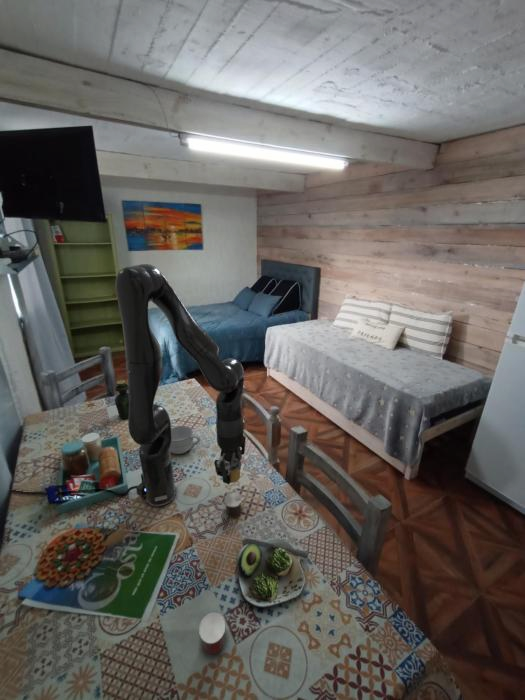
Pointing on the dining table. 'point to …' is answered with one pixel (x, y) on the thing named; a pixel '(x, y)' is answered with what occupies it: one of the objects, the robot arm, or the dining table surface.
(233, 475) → the gold pod
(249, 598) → the salad plate
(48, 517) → the dining table surface
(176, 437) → the teacup
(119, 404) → the potion bottle
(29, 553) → the dining table surface
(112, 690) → the dining table surface
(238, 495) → the base pod
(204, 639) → the burgundy pod
